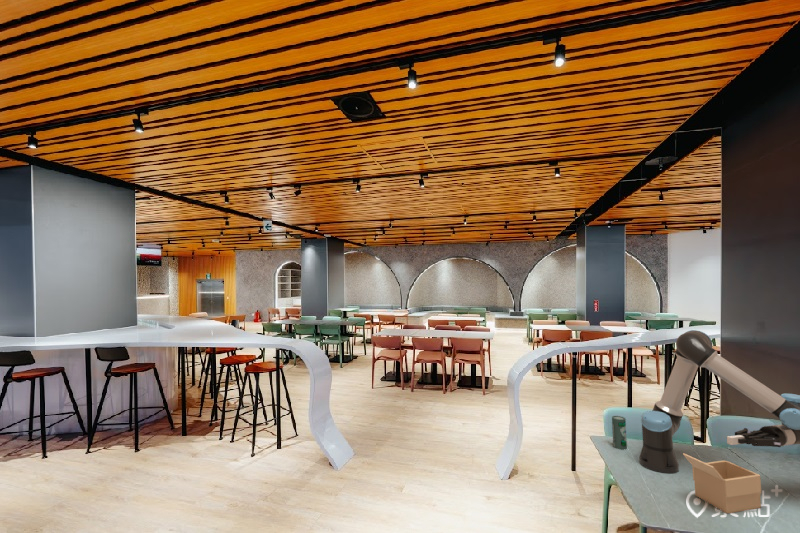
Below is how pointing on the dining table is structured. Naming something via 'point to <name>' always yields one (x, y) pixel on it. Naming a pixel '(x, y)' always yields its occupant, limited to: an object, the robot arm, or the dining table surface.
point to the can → (619, 432)
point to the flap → (703, 466)
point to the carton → (729, 487)
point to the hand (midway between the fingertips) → (729, 440)
